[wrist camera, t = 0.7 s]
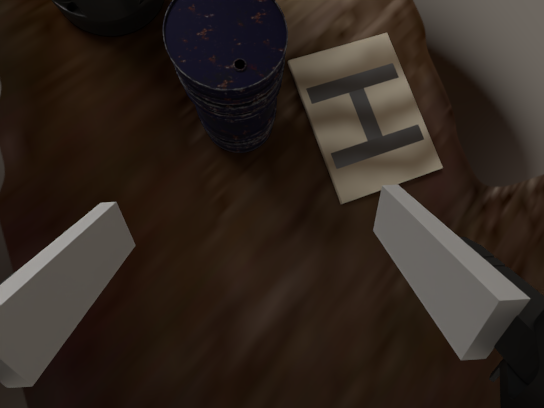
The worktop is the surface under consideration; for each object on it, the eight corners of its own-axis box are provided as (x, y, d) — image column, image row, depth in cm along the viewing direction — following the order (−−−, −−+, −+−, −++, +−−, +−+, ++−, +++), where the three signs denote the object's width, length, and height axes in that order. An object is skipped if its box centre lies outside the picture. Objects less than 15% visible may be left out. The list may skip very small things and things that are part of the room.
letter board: (287, 63, 34) (288, 60, 34) (384, 35, 36) (387, 32, 35) (340, 204, 33) (342, 203, 32) (439, 168, 34) (443, 167, 34)
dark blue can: (193, 98, 33) (142, -8, 18) (258, 77, 34) (261, -40, 19) (218, 163, 32) (187, 109, 17) (284, 140, 33) (308, 69, 18)
